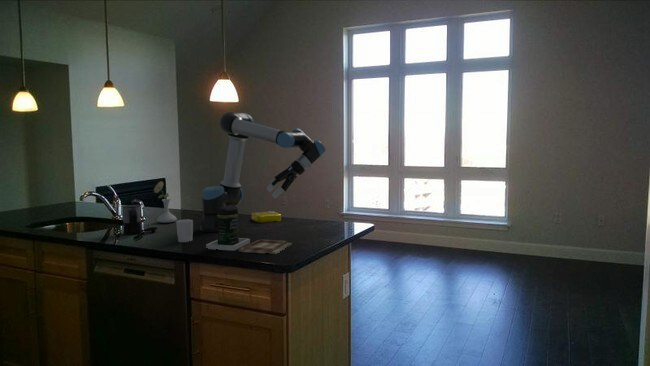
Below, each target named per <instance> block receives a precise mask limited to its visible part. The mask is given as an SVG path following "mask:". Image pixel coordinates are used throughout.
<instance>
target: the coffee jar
mask: <svg viewBox="0 0 650 366" xmlns="http://www.w3.org/2000/svg"><path fill="white" fill-rule="evenodd" d="M238 210H239V209H238V207H237V206H226V207H221V208H218V210H217V217H218V232H217V240H218V245H230V246H233V245H235V244H238V243H239V238H240V237H239V231H238V230H239V229H238V216H239V211H238Z"/></svg>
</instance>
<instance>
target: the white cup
mask: <svg viewBox="0 0 650 366" xmlns="http://www.w3.org/2000/svg"><path fill="white" fill-rule="evenodd" d="M175 225H176V226H175V227H176V233H177V241H178V243H190V242H192V241H193V233H194V220H193V219H188V218H187V219H177V220H176V221H175ZM189 241H190V242H189Z"/></svg>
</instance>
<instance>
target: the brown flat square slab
mask: <svg viewBox="0 0 650 366" xmlns="http://www.w3.org/2000/svg"><path fill="white" fill-rule="evenodd" d="M292 245H293V244H292V242H288V240H275V239H257V240H255V241H253V242H250V243H249V244H247V245H245V246H243V247H241V248H238V252H241V253H252V254H253V253H255V254H265V253H269V255H278V254H279V253H281V252H283V251H285V250H286V249H287V247H288V248H290V247H291V246H292ZM285 248H286V249H285ZM282 250H283V251H282ZM280 251H281V252H280ZM277 253H278V254H277Z"/></svg>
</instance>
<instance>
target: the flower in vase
mask: <svg viewBox="0 0 650 366" xmlns="http://www.w3.org/2000/svg"><path fill="white" fill-rule="evenodd" d="M163 186H164V182H163V181H161V180H160V181H158V183H157V184H156V185H155V186H154V188H153V193H155V194H158V193H160V192H161V194H160V195H159V196H158V197H157V198H158V199H161V201H162V202H163V203H162V204H163V206H164V212H163V213H162V214H160V216H159V217H157V219H156V222H158V223H164V224H168V223H174V222H176V221H178V219H177V216H175V215H174V214H173V213H171V212H170V211H169V203H170V201H171V199H170V198H168V197H169V196H170V195H169V192H167V193H165V194H164V192H163V190H162V189H163V188H164V187H163ZM162 198H164V199H162Z"/></svg>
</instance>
